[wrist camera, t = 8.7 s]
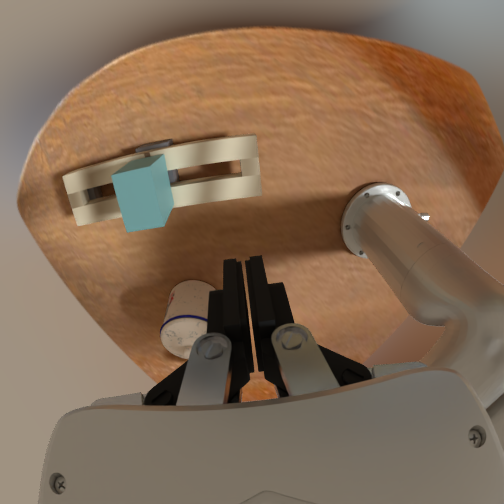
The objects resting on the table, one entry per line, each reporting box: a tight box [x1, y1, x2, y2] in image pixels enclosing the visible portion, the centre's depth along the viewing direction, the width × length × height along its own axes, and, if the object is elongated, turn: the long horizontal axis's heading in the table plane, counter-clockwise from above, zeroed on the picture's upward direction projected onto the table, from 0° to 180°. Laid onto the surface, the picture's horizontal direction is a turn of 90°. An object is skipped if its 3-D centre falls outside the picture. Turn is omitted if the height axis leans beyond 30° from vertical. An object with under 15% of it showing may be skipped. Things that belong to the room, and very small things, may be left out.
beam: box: [62, 133, 262, 226], centre depth 31 cm, size 24×8×5 cm, turn 96°
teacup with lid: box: [160, 280, 216, 359], centre depth 40 cm, size 12×9×12 cm
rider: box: [111, 154, 174, 232], centre depth 27 cm, size 4×6×8 cm, turn 6°
